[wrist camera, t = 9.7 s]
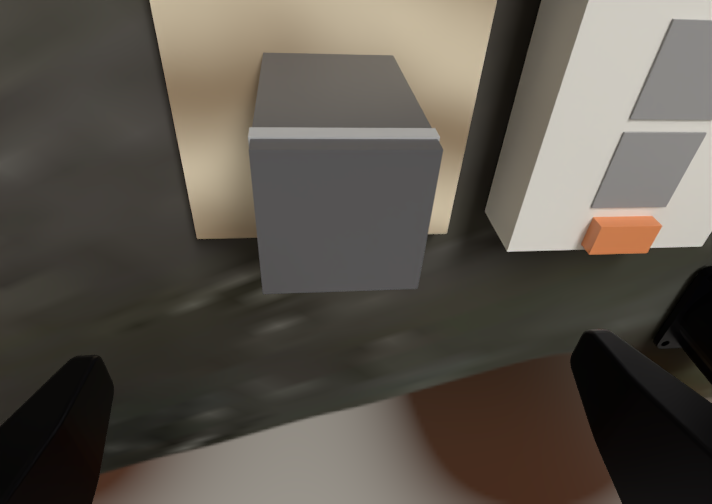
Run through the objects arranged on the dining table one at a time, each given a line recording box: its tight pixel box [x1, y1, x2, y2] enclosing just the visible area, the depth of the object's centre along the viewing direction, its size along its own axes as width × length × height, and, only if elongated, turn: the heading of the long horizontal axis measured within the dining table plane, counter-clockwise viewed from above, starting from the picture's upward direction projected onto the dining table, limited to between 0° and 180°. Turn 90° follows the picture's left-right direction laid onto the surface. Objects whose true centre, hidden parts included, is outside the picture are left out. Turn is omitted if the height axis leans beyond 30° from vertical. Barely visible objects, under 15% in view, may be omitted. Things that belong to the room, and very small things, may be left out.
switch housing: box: [485, 0, 712, 255], centre depth 16 cm, size 18×9×4 cm, turn 177°
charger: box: [248, 52, 443, 294], centre depth 15 cm, size 4×4×7 cm
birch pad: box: [150, 0, 497, 239], centre depth 18 cm, size 11×11×1 cm
